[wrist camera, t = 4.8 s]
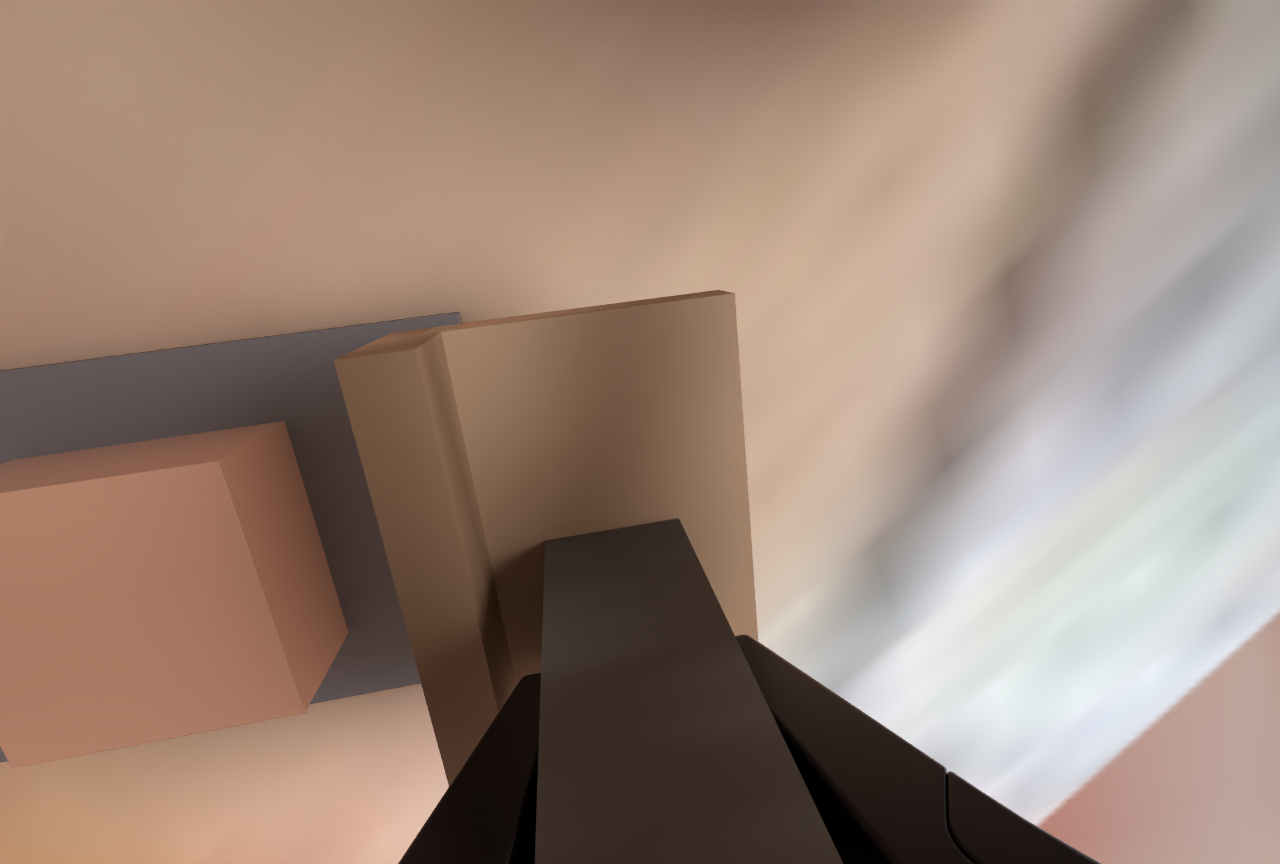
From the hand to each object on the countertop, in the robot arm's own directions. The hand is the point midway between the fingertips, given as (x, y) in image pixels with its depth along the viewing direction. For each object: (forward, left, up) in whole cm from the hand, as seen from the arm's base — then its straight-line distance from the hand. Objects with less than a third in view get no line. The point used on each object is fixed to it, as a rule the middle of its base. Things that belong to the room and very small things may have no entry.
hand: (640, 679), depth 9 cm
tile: (+10, 0, -8) cm, 13 cm away
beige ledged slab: (0, 0, -4) cm, 4 cm away
